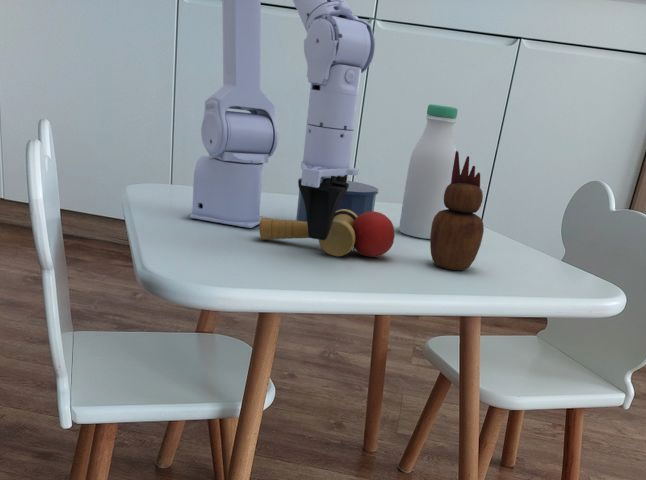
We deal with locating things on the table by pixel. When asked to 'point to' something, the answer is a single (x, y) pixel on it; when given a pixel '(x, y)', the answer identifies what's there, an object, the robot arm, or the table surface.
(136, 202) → the table surface
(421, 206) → the milk bottle
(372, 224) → the kendama
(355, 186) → the pot lid
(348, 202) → the pot
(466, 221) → the wooden figurine
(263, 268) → the table surface
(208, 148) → the robot arm
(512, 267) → the table surface
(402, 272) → the table surface
